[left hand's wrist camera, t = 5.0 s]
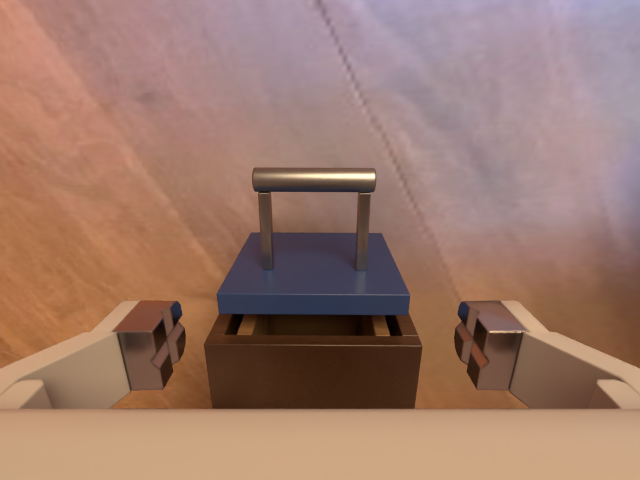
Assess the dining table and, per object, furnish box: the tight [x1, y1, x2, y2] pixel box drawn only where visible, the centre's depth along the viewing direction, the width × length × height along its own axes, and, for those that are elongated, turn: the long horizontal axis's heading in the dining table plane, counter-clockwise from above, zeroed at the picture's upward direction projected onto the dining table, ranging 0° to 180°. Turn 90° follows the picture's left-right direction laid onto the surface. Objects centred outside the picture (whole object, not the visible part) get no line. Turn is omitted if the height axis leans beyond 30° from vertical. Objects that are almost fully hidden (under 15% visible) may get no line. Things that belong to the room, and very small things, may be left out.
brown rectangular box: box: [204, 312, 422, 409], centre depth 25 cm, size 15×11×11 cm
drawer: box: [217, 168, 410, 336], centre depth 23 cm, size 20×10×9 cm, turn 0°
